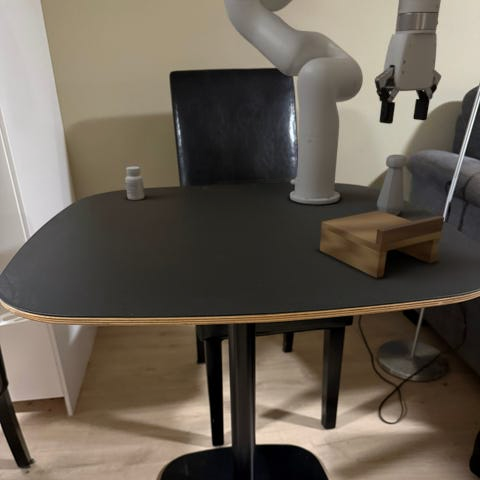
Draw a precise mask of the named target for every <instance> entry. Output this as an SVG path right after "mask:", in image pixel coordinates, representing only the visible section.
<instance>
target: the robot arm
mask: <svg viewBox="0 0 480 480" xmlns="http://www.w3.org/2000/svg"><path fill="white" fill-rule="evenodd" d="M292 1H293V0H223V3H224V8H225V12H226V15H227V17H228V19H229V22H230V23H231V25H232V26H233V28H234V29H235V31H236V32H238V34H239V35H240V36H241V37H243V39H244V40H245V41H247V42H248V43H249V44H250V45H252V47H254V48H255V49H256V50H257V51H258V52H259V53H260V54H261V55H262V56H263V57H264V58H265V59H266V60H268V61H269V62H270V64H272V65H273V66H274V68H276V69H277V70H278V71H279V72H281V73H282V74H283V75H285V76H288V77H297V78H296V94H297V102H298V115H299V116H298V143H297V162H296V163H297V166H296V167H297V168H296V177H294V178H292V179H291V180H290V184H291V185H294V190H293V191H291V192H290V193H289V198H290V200H291V201H293V202H296V203H299V204H304V205H305V204H306V205H328V204H334V203H336V202H338V201H340V197H341V194H340V193H339V192H338V191H335V185H336V174H337V173H336V172H337V161H338V148H339V138H340V137H339V136H340V115H339V110H338V105H337V103H343V102H347V101H349V100H352V99H354V98H355V97H356V96H357V95H358V94H359V93H360V91H361V89H362V87H363V83H364V82H363V81H364V76H363V71H362V68H361V66H360V64H359V63H358V62H357V60H356V59H355V58H354V57H352V56H351V55H350V54H349V53H348V52H347V51H346V50H344V49H343V48H342V47H341V46H339V45H338V44H337V43H336V42H335V41H333V40H332V39H331V38H330V37H329V36H328V35H325V34H323V33H321V32H318V31H313V30H312V31H311V30H300V29H296V28H294V27H292V26H291V25H290V24H288V23H287V22H286V21H285V20H283V19H282V18H281V17H280V16H279V15H278V14H277V13H275V12H279V11H281V10H283V9H284V8H286V7H287V6H289V4H290V3H292ZM441 2H442V0H398V6H397V16H396V21H395V22H396V23H395V30H394V31H395V32H394V33H393V34H391V36H390V39H389V43H388V46H387V51H386V55H385V59H384V66H383V71H382V72H381V73H379V75H377V76H376V77H375V78H374V85H375V88H376V91H375V92H376V94H377V96H378V100H379V102H380V111H379V112H380V114H379V123H380V124H387V125H390V124H393V123H394V117H395V108H396V102H395V101H394V100H395V99H396V97H397V96H398V94H399V92H412V91H415V92H416V95H417V97H418V98H416V99H415V102H414V108H413V116H412V117H413V120H414V121H415V120H416V121H427V119H428V115H429V108H430V103H431V102H430V101H431V100H432V99H433V98H434V93H435V92H436V91H437V89H438V86H439V83H440V81H441V79H442V74H440V73H439V71H437V70H436V69H435V68H436V60H437V47H438V46H437V41H438V39H437V27H438V25H439V15H440V9H441Z"/></svg>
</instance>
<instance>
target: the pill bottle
mask: <svg viewBox="0 0 480 480" xmlns="http://www.w3.org/2000/svg"><path fill="white" fill-rule="evenodd" d="M125 173H126V176H125V178H124V181H125V186H126V187H125V189H126V197H127V199H128V200H131V201H138V200H143V199H145V187H144V178H143V176H142V175H140V174H141V168H140V166H136V165H135V166H127V167H125Z"/></svg>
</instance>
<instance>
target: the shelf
mask: <svg viewBox="0 0 480 480" xmlns="http://www.w3.org/2000/svg"><path fill="white" fill-rule="evenodd" d="M444 222H445V216H441V215H435V216H431V217H427V218H421V219H418V220H413V221H412V220H409V219H407V218H403V217H401V216H399V215H397V216H395V215H392V214H389V213H386V212H383V211H380V210H379V209H378V210H374V211H368V212H364V213H358V214H354V215H353V214H352V215H348V216H343V217H338V218H333V219H329V220H323V221H321V229H320V240H319V241H320V244H319V251H320V252H322V253H324V254H326V255H328V256H330V257H332V258H334V259H336V260H338V261H339V262H340V261H341V262H343V263H344V264H347V265H349V266H350V267H353V268H355V269H357V270H359V271H361V272H363V273H365V274H366V275H369V276H371V277H373V278H375V279H378V278H381V277H382V278H383V277H384V274H385V267H386V261H387V253H388V252H389V251H392V250H395V251H398V252H400V253H402V254H403V253H404V254H406V255H408V256H409V257H412V258H416V259H418V260H420V261H423V262H425V263H428V264H432V263H435V262H436V261H437V256H438V251H439V247H440V241H441V237H442V231H443V228H444V227H443V226H444Z"/></svg>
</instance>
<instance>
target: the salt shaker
mask: <svg viewBox="0 0 480 480" xmlns="http://www.w3.org/2000/svg"><path fill="white" fill-rule="evenodd" d="M407 163H408V157H406V156H405V155H403V154H390V155H388V156H387V158H386V160H385V165H386V167H388V169H387V170H386V171H387V172H386V175H385V178H384V180H383V183H382V186H381V189H380V191H379V192H380V193H379V195H378V198H377V202H376V206H377V209H378V210H380V211H383V212H386V213H389V214H392V215H395V216H399V215H400V214H401V211H402V210H403V208H404V205H405V198H404V197H405V194H404V168H405V167H406V166H407Z"/></svg>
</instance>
